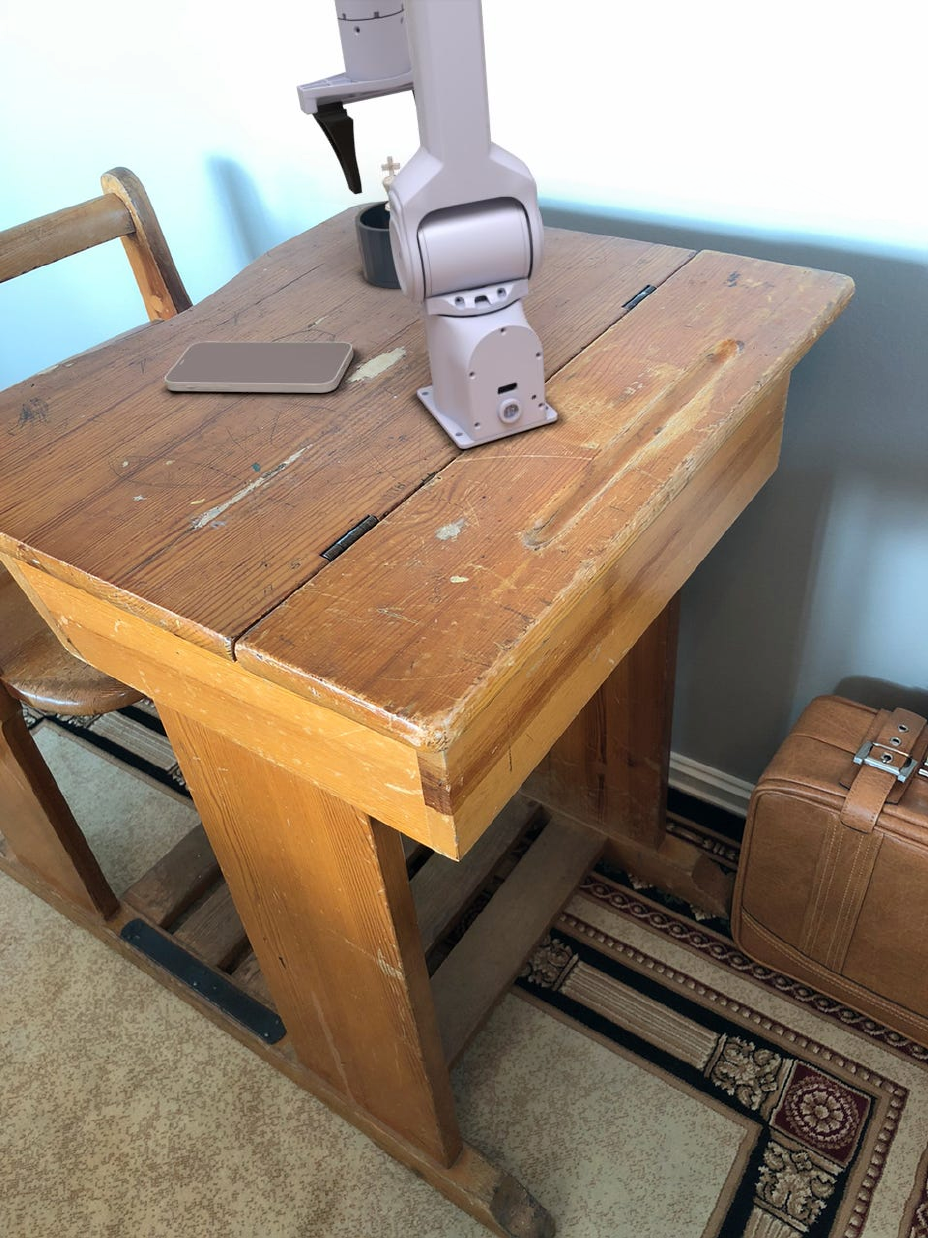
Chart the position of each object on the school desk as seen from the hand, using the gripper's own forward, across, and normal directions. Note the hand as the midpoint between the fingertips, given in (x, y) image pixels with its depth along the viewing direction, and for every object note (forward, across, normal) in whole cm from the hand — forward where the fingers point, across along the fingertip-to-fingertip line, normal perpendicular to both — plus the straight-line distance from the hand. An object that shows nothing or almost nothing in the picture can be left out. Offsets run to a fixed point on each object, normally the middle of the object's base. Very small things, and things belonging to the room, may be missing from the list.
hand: (394, 181), depth 90 cm
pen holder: (+8, 0, 0) cm, 9 cm away
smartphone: (+9, +18, +13) cm, 24 cm away
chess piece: (+8, 0, 0) cm, 8 cm away
